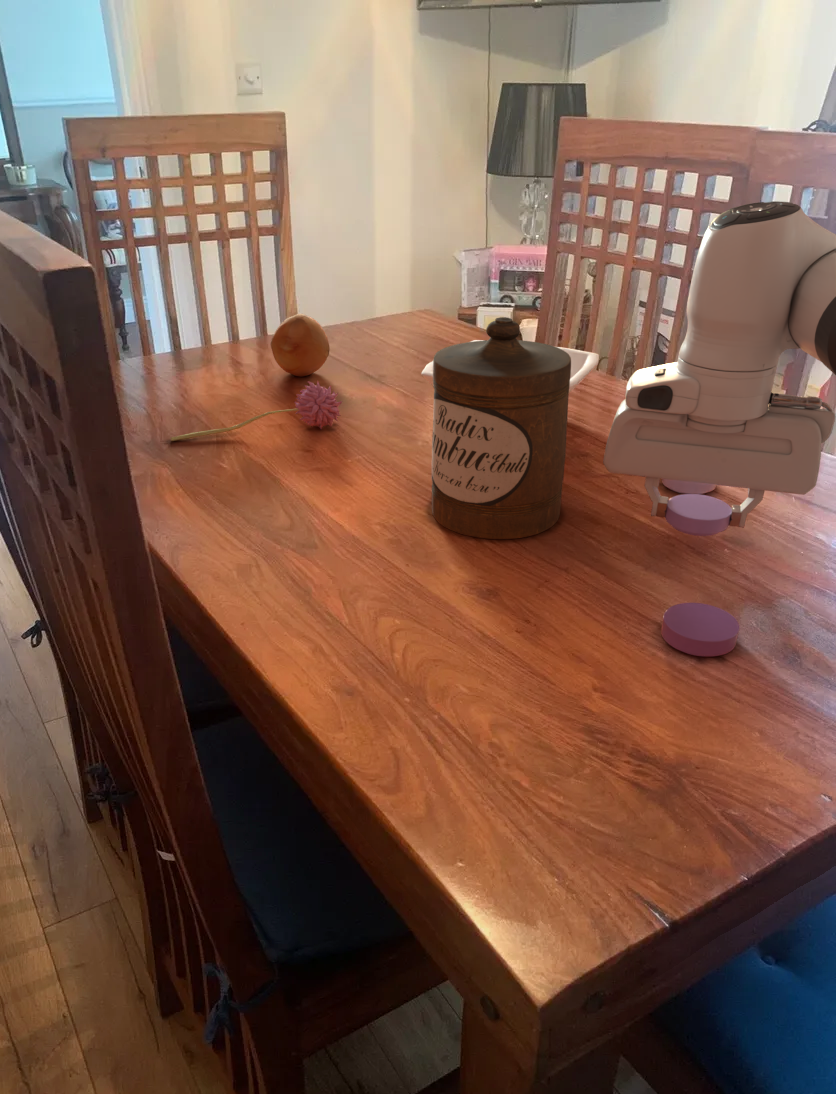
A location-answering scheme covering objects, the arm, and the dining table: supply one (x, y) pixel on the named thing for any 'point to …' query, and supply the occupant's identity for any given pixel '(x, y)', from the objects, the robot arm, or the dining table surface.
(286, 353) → the onion
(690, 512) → the lavender disc
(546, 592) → the dining table surface
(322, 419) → the artificial flower
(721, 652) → the mauve disc
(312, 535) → the dining table surface
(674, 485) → the pale pink disc
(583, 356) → the bowl
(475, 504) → the wooden container
